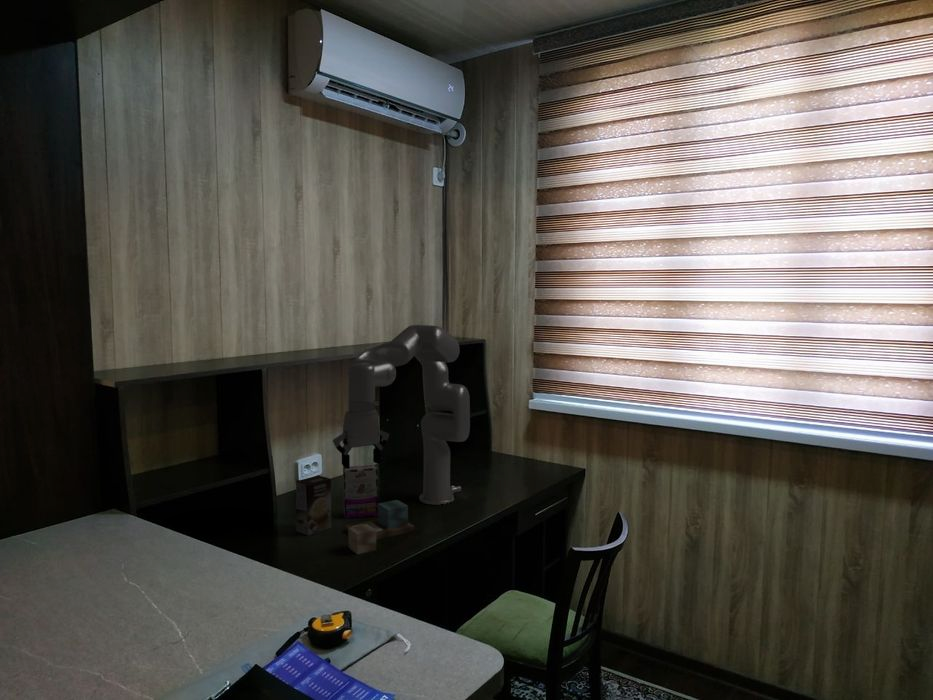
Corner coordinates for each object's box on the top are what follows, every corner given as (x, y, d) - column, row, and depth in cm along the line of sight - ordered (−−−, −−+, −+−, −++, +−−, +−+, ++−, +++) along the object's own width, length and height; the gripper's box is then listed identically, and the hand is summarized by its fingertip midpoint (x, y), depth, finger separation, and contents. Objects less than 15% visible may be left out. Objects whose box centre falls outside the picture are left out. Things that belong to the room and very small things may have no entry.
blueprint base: (396, 519, 221) (396, 497, 220) (414, 530, 211) (414, 507, 210) (345, 530, 211) (345, 507, 210) (362, 542, 201) (362, 518, 200)
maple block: (367, 543, 201) (367, 524, 200) (376, 550, 196) (376, 530, 195) (348, 547, 197) (348, 527, 197) (357, 554, 192) (357, 534, 192)
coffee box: (308, 536, 206) (307, 485, 204) (295, 531, 210) (294, 480, 208) (332, 528, 213) (331, 478, 211) (319, 523, 217) (318, 474, 215)
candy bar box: (376, 511, 228) (376, 464, 227) (378, 516, 224) (378, 468, 222) (342, 514, 225) (342, 466, 224) (344, 519, 221) (343, 470, 219)
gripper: (382, 402, 200) (382, 458, 202) (328, 407, 190) (328, 466, 192) (394, 406, 194) (394, 464, 196) (339, 411, 184) (339, 472, 186)
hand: (361, 465), depth 194 cm, fingers open, 9 cm apart
